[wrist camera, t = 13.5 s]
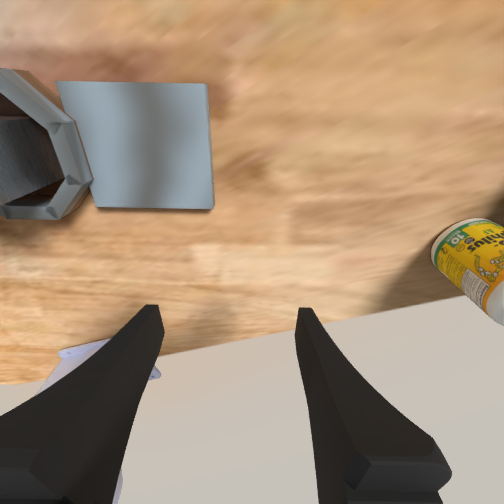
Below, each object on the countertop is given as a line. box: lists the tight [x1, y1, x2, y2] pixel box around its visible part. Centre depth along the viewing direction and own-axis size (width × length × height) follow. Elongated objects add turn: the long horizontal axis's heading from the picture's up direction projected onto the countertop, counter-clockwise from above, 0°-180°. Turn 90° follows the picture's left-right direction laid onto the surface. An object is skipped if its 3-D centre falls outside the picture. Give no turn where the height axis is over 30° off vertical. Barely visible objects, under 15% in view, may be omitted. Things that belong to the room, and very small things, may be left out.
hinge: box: [0, 68, 215, 220], centre depth 17 cm, size 26×9×2 cm, turn 89°
